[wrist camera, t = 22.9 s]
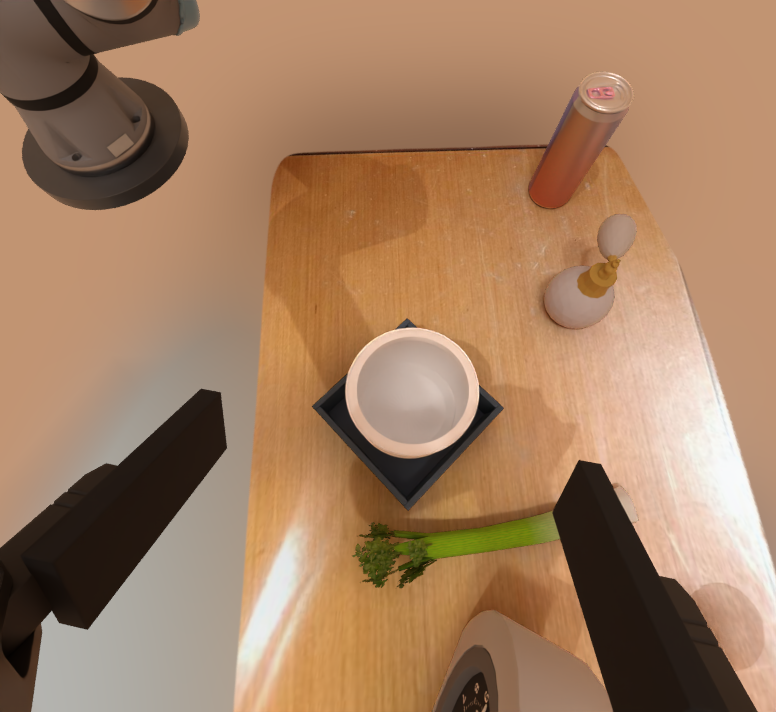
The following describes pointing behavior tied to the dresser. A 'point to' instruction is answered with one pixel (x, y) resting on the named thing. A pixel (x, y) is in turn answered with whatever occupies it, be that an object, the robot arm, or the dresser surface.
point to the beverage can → (580, 137)
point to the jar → (412, 392)
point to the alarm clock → (516, 673)
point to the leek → (458, 542)
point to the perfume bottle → (591, 279)
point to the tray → (398, 473)
